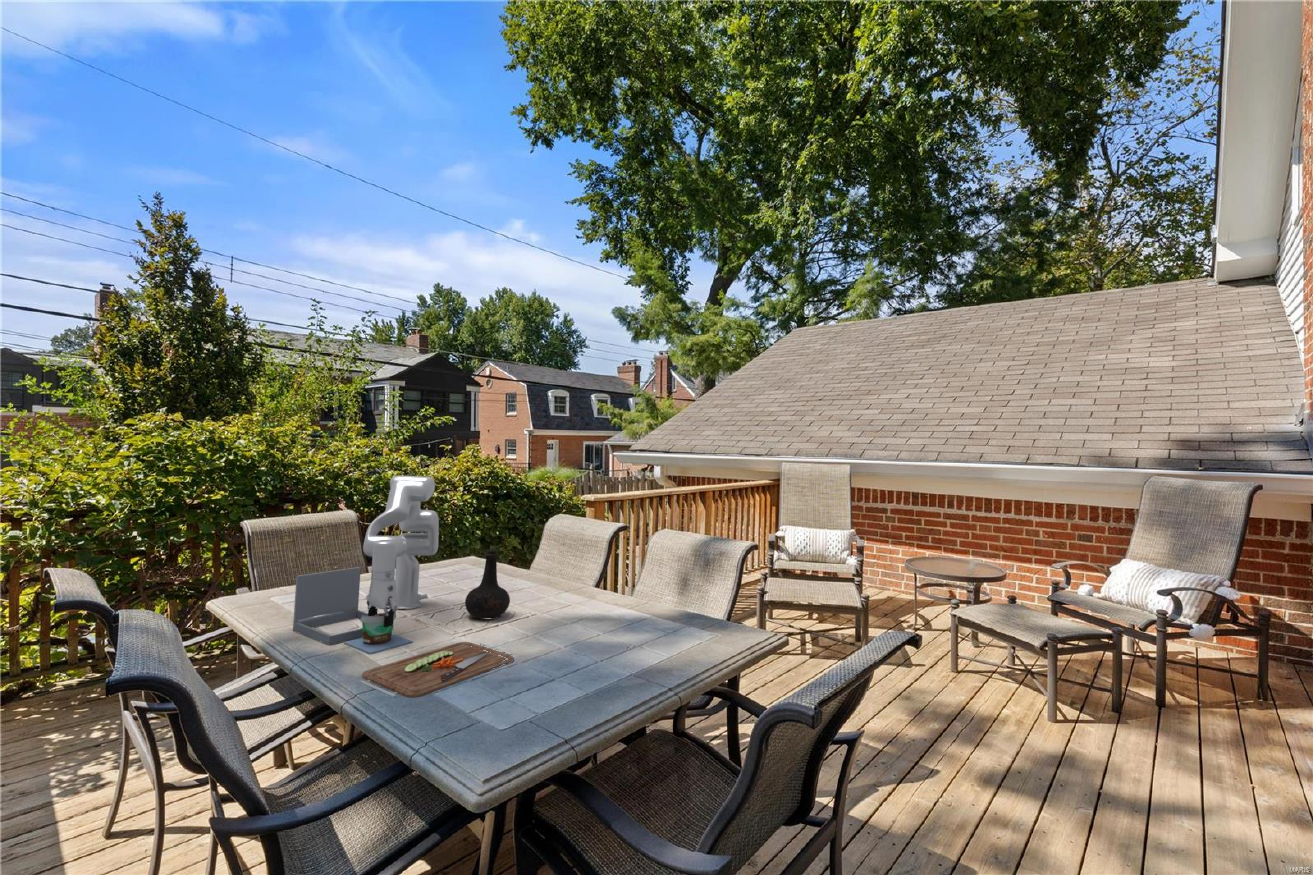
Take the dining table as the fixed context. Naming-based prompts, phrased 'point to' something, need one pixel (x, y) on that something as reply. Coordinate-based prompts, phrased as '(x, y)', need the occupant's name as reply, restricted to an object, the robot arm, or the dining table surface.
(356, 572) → the case
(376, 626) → the food container
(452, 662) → the chopping board
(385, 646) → the mat
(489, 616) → the glass bottle
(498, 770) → the dining table surface
